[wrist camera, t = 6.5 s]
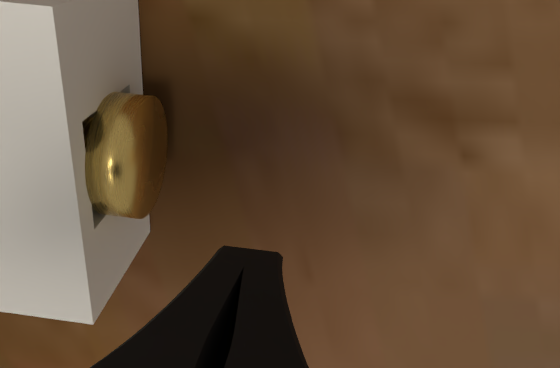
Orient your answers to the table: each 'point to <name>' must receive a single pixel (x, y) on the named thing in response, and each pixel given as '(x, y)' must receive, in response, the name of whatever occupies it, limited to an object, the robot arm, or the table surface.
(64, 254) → the block
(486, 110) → the table surface
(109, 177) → the pin
